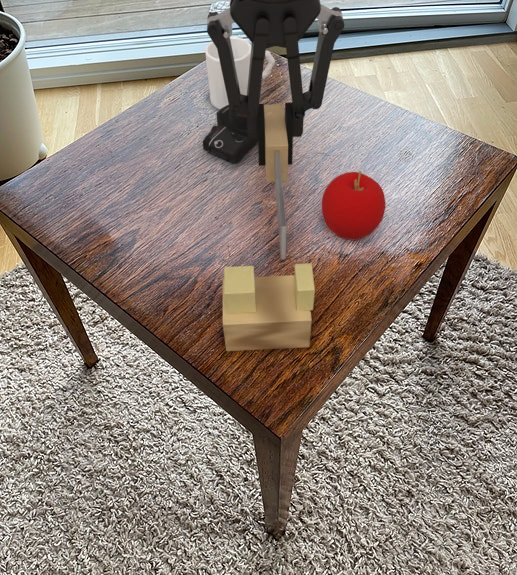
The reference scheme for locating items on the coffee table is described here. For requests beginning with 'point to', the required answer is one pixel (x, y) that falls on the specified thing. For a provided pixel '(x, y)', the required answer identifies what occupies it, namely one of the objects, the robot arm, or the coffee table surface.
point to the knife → (277, 162)
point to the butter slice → (304, 287)
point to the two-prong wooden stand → (269, 319)
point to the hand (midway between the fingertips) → (275, 157)
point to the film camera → (229, 136)
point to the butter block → (239, 289)
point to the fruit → (353, 205)
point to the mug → (242, 64)
